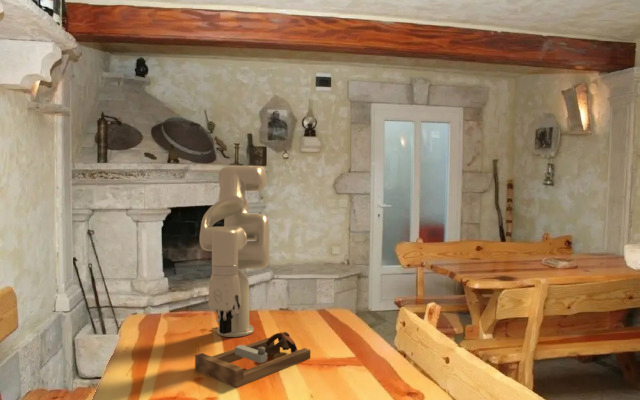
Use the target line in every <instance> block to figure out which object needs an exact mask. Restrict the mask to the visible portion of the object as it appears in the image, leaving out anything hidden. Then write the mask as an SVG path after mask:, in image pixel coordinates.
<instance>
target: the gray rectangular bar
mask: <svg viewBox="0 0 640 400" xmlns="http://www.w3.org/2000/svg"><path fill="white" fill-rule="evenodd" d="M234 349H235V354H236V355H238V356H241V357H244V359H247V360H250V361H252V362H256V363H259V364H263V363H266V362H268V357H267V353H265V347H258V350H256V349H253V348H250V347H247V346H245V345H243V344H239V345H237V346H235V347H234Z"/></svg>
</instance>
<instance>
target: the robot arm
mask: <svg viewBox="0 0 640 400" xmlns="http://www.w3.org/2000/svg"><path fill="white" fill-rule="evenodd" d="M217 178H218V184H219V195H218V201H216V202H215V203H214V204H212V206H210V207H209V208H208V209H207V211H206V212H205V213H204V214H203V217H202V218H201V219H202V220H201V223H200V230H199V245H200V248H201V249H202V250H203V251H207V252H211V275H210V279H209V286H208V307H210V309H212V310H213V311H214V312H215V313H216V314H217V318H216V323H219V327H218V328H217V329H216V333H217V334H218V335H219V336H221V337H226V338H238V337H245V336H248V335H251V334H252V333H253V332H254V331H255V330H254V329H255V328H254V326H253V325H251V324H250V293H249V292H250V285H249V279H248V277H247V275H246V274H245V273H244V271H243V270H245V269H246V270H252V269H253V270H255V269H256V270H257V269H259V270H260V269H265V268H266V267H267V266H268V264H269V263H270V223H269V218H268V217H267V216H266V215H265V214H263V213H250V203H249V200H247V198H246V192H261V191H263V190H264V188H265V187H266V184H267V171H266V169H265V167H263V166H262V165H230V166H225V167H223V168H221V169H220V170H219V171H218V177H217ZM221 220H224V223H223V226H214V225H215V224H216V223H218V222H219V221H221Z"/></svg>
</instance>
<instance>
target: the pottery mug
mask: <svg viewBox="0 0 640 400" xmlns="http://www.w3.org/2000/svg"><path fill="white" fill-rule="evenodd" d="M268 338H269V339H268V340H267V341H266V342H265V343H266V344H267V345H266V344H265V345H264V347H265V353H267V358H268V357H271V356H274V355H281V348H282V350H283V351H288V350H290V353H293V352H295V351H298V348H297V345H296V343H295V340H293V338H292V337H290V334H289V333H288V332H286V331H284V332H277V333H274V334H273V335H271V336H270V337H268ZM276 340H277V341H278V342H277V343H274V345H273V346H271V347H268V346H269V345H270V344H271V343H272V342H273V341H274V342H275V341H276Z"/></svg>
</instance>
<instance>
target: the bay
mask: <svg viewBox="0 0 640 400" xmlns="http://www.w3.org/2000/svg"><path fill="white" fill-rule="evenodd" d="M269 338H270V337H268V338H267V337H266V338H263V339H261V340H257V341H255V342H252V343H249V344H245V345H244V346H247V347H250V348H253V349H256V350H258V347H264V345H265V344H266V343H265V342H266V341H267V340H268V339H269ZM266 345H267V344H266ZM273 345H275V340H274V341H273V342H272V343H271V344H270V345H269V346H268V347H271V346H273ZM243 358H244V357H241V356H238V355H236V354H235V348H233V349H230V350H228V351H227V350H226V351H224V352H221V353H219V354H216V355H215V354H214V355H212V356H211V355H208V354H206V353H203V352H201V353H198V354H195V355H194V362H195V363H194V367H195V369H194V370H195V372H198V373H199V374H200V373H201V374H202V375H204V376H207V377H209V378H212V379H215V380H216V381H219V382H222V383H225V384H226V385H229V386H231V387H234V388H239V387H242V386H244V385H247V384H249V383H251V382H254V381H256V380H260V379H262V378H264V377H267V376H269V375H272V374H274V373H276V372H279V371H282V370H284V369H286V368H288V367H291V366H294V365H297V364H299V363H301V362H304V361H306V360H309V359H311V349H308V348H306V347H303V348H301V349H299V350H298V349H297V351H295V352H293V353H291V352H290V353H287V354H285V355H282V356H279V357H277V358H273V359H272V360H268V361H266V362H263V363H260V364H259V365H256V366H253V367H250V368H248V369H245V370H244V367H241V366H239V365H235V364H233V362H235V361H238V360H240V359H243ZM244 359H245V358H244Z"/></svg>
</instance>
